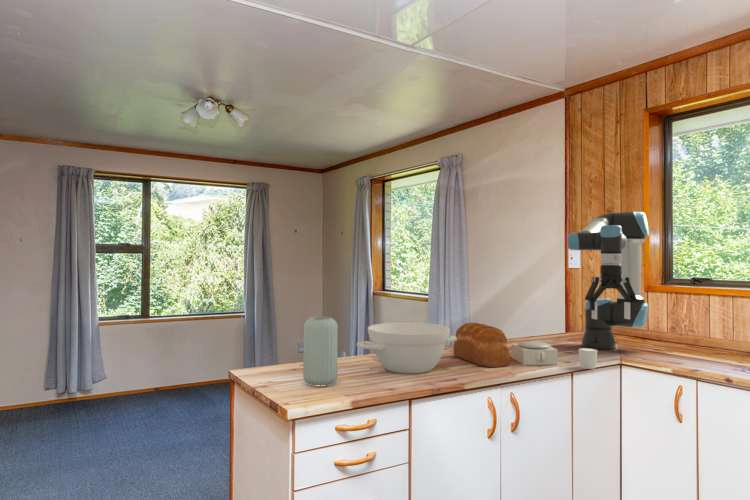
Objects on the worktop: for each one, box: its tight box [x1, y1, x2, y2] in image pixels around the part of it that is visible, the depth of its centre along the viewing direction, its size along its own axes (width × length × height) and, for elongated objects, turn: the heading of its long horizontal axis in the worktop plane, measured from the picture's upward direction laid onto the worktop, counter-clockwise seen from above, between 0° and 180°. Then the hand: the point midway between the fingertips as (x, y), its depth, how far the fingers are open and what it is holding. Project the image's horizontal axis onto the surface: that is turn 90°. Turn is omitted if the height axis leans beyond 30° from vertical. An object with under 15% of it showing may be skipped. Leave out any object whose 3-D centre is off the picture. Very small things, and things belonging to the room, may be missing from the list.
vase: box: [302, 316, 339, 386], centre depth 167 cm, size 12×12×22 cm
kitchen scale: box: [511, 340, 559, 366], centre depth 205 cm, size 15×14×7 cm
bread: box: [453, 322, 511, 368], centre depth 206 cm, size 14×26×16 cm, turn 21°
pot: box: [356, 321, 457, 375], centre depth 190 cm, size 44×32×16 cm
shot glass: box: [577, 347, 598, 370], centre depth 194 cm, size 7×7×7 cm
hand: (610, 319), depth 193 cm, fingers open, 13 cm apart
